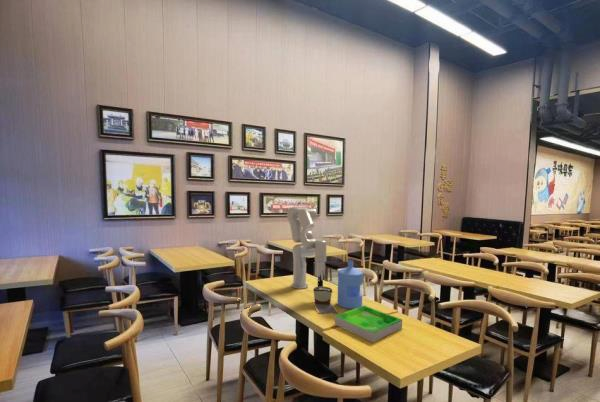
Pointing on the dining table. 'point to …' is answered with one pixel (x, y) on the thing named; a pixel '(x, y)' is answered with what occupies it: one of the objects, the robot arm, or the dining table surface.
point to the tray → (368, 323)
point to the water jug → (349, 287)
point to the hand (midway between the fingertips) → (320, 286)
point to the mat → (325, 308)
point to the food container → (322, 295)
